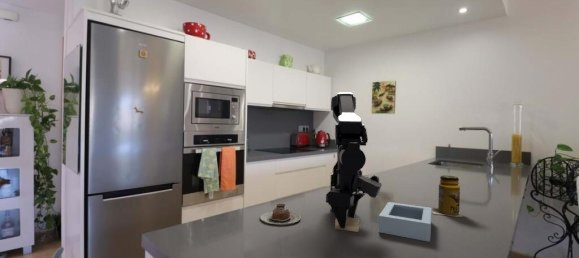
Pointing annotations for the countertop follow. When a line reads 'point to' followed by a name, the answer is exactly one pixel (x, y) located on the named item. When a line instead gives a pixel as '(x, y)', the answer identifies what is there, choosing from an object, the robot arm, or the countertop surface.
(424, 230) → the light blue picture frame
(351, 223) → the block
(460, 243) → the countertop surface
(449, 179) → the condiment
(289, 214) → the pastry
